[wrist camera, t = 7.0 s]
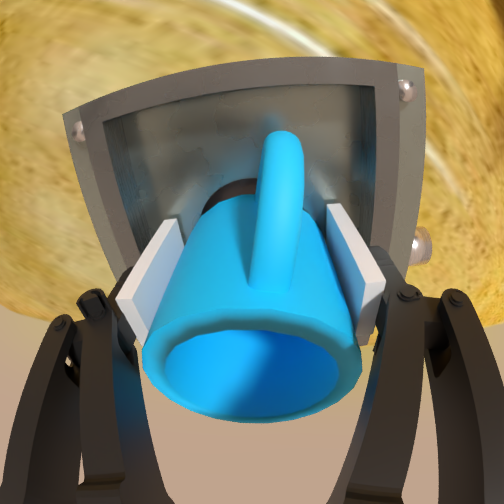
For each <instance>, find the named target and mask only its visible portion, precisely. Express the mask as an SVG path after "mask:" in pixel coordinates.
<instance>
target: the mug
mask: <svg viewBox="0 0 504 504" xmlns="http://www.w3.org/2000/svg"><path fill="white" fill-rule="evenodd" d="M303 198H304V154H303V150H302V146H301V143H300V141H299V139H298V138H297V137H296V135H294V134H292V133H291V132H287V131H275V132H272V133H270V134H269V135H268V136H267V137H266V138H265V140H264V143H263V148H262V153H261V159H260V165H259V172H258V178H257V185H256V192H255V194H243V195H239V196H236V197H233V198H230V199H227V200H224V201H221V202H219V203H218V204H216V205H215V206H214V207H212V208H211V209H210V210H208V211H207V212H206V213H205V214H203V215H202V216H201V218H200V219H199V221H198V222H197V224H196V225H195V227H194V229H193V230H192V232H191V234H190V236H189V238H188V240H187V242H186V245H185V247H184V249H183V251H182V253H181V256H180V258H179V260H178V262H177V265H176V267H175V269H174V271H173V274H172V276H171V278H170V281H169V283H168V285H167V288H166V290H165V292H164V295H163V297H162V300H161V302H160V305H159V307H158V309H157V312H156V314H155V317H154V319H153V322H152V325H151V327H150V330H149V332H148V335H147V338H146V340H145V343H144V345H143V348H142V363H143V369H144V371H145V373H146V374H147V376H148V378H149V379H150V381H151V383H152V384H153V385H154V386H155V387H156V388H157V389H158V390H159V391H160V392H162V393H163V394H164V395H165V396H166V397H167V398H169V399H170V400H172V401H174V402H175V403H177V404H179V405H181V406H183V407H185V408H187V409H189V410H190V411H194V412H196V413H199V414H202V415H205V416H208V417H212V418H215V419H220V420H226V421H232V422H239V423H273V422H281V421H289V420H294V419H298V418H301V417H305V416H308V415H311V414H314V413H317V412H319V411H321V410H323V409H325V408H327V407H329V406H331V405H333V404H335V403H337V402H338V401H339V400H341V399H342V398H343V397H344V396H345V395H346V394H347V393H349V392H350V391H351V390H352V389H353V388H354V386H355V384H356V382H357V381H358V379H359V377H360V375H361V373H362V359H361V351H360V347H359V344H358V340H357V337H356V333H355V330H354V326H353V323H352V320H351V316H350V313H349V310H348V307H347V303H346V300H345V297H344V294H343V291H342V288H341V285H340V282H339V279H338V276H337V273H336V270H335V267H334V264H333V262H332V259H331V256H330V253H329V250H328V248H327V245H326V242H325V239H324V237H323V234H322V231H321V230H320V229H319V227H318V226H317V224H316V223H315V221H314V220H313V219H312V217H311V216H310V214H308V213H307V212H305V211H304V210H303Z"/></svg>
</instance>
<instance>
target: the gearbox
mask: <svg viewBox="0 0 504 504" xmlns="http://www.w3.org/2000/svg"><path fill="white" fill-rule="evenodd" d="M62 115H63V120H64V125H65V130H66V134H67V139H68V143H69V147H70V151H71V155H72V159H73V163H74V167H75V170H76V174H77V177H78V181H79V184H80V187H81V191H82V194H83V197H84V200H85V203H86V206H87V209H88V212H89V215H90V217H91V220H92V223H93V226H94V228H95V231H96V234H97V236H98V239H99V241H100V244H101V246H102V249H103V251H104V254H105V256H106V258H107V261H108V263H109V265H110V268H111V270H112V272H113V274H114V277H115V279H116V281H118V280H119V278H120V277H121V275H122V273H123V272H124V271H126V270H127V269H128V268H129V267H132V266H135V265H136V263H137V261H138V260H139V258H140V257H141V255H142V253H143V252H144V250H145V249H146V247H147V245H148V244H149V242H150V241H151V239H152V238H153V236H154V235H155V233H156V232H157V230H158V229H159V227H160V226H161V224H162V223H163V221H164V220H169V219H176V218H177V221H178V225H179V229H180V233H181V237H182V240H183V244H184V247H185V245H186V242H187V240H188V238H189V236H190V234H191V232H192V230H193V229H194V227H195V225H196V224H197V222H198V221H199V219H200V218H201V216H202V215H203V214H205V213H206V212H207V211H208V210H210V209H211V208H212V207H214V206H215V205H216V204H218V203H219V202H221V201H224V200H227V199H230V198H233V197H236V196H239V195H243V194H255V192H256V185H257V178H258V172H259V165H260V159H261V153H262V148H263V143H264V140H265V138H266V137H267V136H268V135H269V134H270V133H272V132H275V131H287V132H291V133H292V134H294V135H296V137H297V138H298V139H299V141H300V143H301V146H302V150H303V154H304V198H303V210H304V211H305V212H307V213H308V214H310V216H311V217H312V219H313V220H314V221H315V223H316V224H317V226H318V227H319V229H320V230H321V231H322V234H323V237H324V239H325V242H326V220H327V204H338V203H340V204H341V205H342V207H343V208H344V210H345V211H346V213H347V215H348V216H349V218H350V219H351V221H352V223H353V224H354V226H355V227H356V229H357V231H358V232H359V234H360V236H361V237H362V239H363V241H364V242H365V244H366V246H367V247H368V246H380V247H381V248H383V249H384V250H385V251H387V253H388V254H389V256H390V258H391V260H392V261H393V262H394V264H395V265H396V267H397V269H398V270H399V272H400V273H401V275H402V277H403V278H404V280H405V277H406V273H407V269H408V266H415V265H423V264H427V263H428V262H429V260H430V257H431V253H432V242H431V238H430V235H429V233H428V231H427V229H426V228H424V227H416V225H417V219H418V213H419V206H420V198H421V190H422V181H423V171H424V158H425V138H426V97H425V79H424V68H419V67H414V66H409V65H403V64H397V63H391V62H384V61H376V60H367V59H356V58H340V57H284V58H268V59H257V60H247V61H239V62H232V63H225V64H219V65H213V66H207V67H202V68H197V69H192V70H188V71H183V72H179V73H175V74H171V75H167V76H163V77H160V78H156V79H152V80H149V81H146V82H142V83H139V84H136V85H133V86H130V87H127V88H124V89H121V90H119V91H116V92H113V93H110V94H108V95H105V96H103V97H100V98H98V99H95V100H93V101H90V102H88V103H86V104H84V105H81V106H79V107H77V108H75V109H73V110H70V111H68V112H66V113H64V114H62ZM375 325H376V324H375ZM369 337H370V335H363V336H357V340H358V344H359V346H363V345H367V344H368V341H369Z"/></svg>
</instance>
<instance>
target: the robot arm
mask: <svg viewBox="0 0 504 504" xmlns="http://www.w3.org/2000/svg"><path fill="white" fill-rule="evenodd" d="M326 245H327V248H328V250H329V253H330V256H331V259H332V262H333V264H334V267H335V270H336V273H337V276H338V279H339V282H340V285H341V288H342V291H343V294H344V297H345V300H346V303H347V307H348V310H349V313H350V316H351V320H352V323H353V326H354V330H355V333H356V337H357V336H363V335H370V334H373V331H374V328H375V324H376V327H377V330H378V332H379V333H378V336H377V339H376V343H375V346H374V349H373V351H374V356H373V361H372V366H371V371H370V375H369V380H368V384H367V388H366V392H365V397H364V401H363V404H362V408H361V412H360V415H359V419H358V422H357V426H356V429H355V432H354V435H353V438H352V442H351V445H350V448H349V451H348V453H347V456H346V459H345V462H344V464H343V467H342V470H341V473H340V475H339V477H338V480H337V483H336V485H335V487H334V490H333V492H332V494H331V496H330V498H329V500H328V502H327V503H326V504H404V503H403V501H402V498H401V496H402V489H403V486H404V482H405V479H406V475H407V471H408V467H409V463H410V459H411V454H412V450H413V445H414V440H415V435H416V429H417V423H418V417H419V409H420V401H421V392H422V380H423V365H424V358H425V362H426V367H427V372H428V378H429V383H430V389H431V395H432V401H433V408H434V416H435V424H436V433H437V446H438V464H439V498H438V500H439V501H438V504H504V386H503V382H502V379H501V376H500V372H499V370H498V366H497V363H496V360H495V358H494V355H493V352H492V349H491V347H490V344H489V342H488V339H487V337H486V334H485V332H484V329H483V327H482V325H481V322H480V320H479V318H478V316H477V313H476V311H475V309H474V307H473V305H472V303H471V301H470V299H469V297H468V296H467V295H466V294H465V293H464V292H462V291H460V290H458V289H452V288H451V289H446V290H445V291H444V292H443V294H442V296H441V298H432V297H425V296H423V295H422V293H421V292H420V290H419V289H418V288H416V287H414V286H413V285H409V284H407V283H406V282H405V280H404V278H403V277H402V275H401V273H400V272H399V270H398V269H397V267H396V265H395V264H394V262H393V261H392V260H391V258H390V256H389V254H388V253H387V251H385V250H384V249H383V248H381V247H380V246H368V247H367V246H366V244H365V242H364V241H363V239H362V237H361V236H360V234H359V232H358V231H357V229H356V227H355V226H354V224H353V223H352V221H351V219H350V218H349V216H348V215H347V213H346V211H345V210H344V208H343V207H342V205H341V204H340V203H338V204H327V220H326ZM183 249H184V244H183V240H182V237H181V233H180V229H179V225H178V221H177V218H176V219H169V220H164V221H163V223H162V224H161V226H160V227H159V229H158V230H157V232H156V233H155V235H154V236H153V238H152V239H151V241H150V242H149V244H148V245H147V247H146V249H145V250H144V252H143V253H142V255H141V257H140V258H139V260H138V261H137V263H136V265H135V266H132V267H129V268H128V269H127V270H126V271H124V272H123V273H122V275H121V277H120V278H119V280H118V281H117V283H116V285H115V287H114V288H113V290H112V291H111V293H110V295H109V296H108V298H107V297H106V296H105V294H104V292H103V291H102V290H101V289H97V288H96V289H91V290H89V291H87V292H85V293H84V294H82V295H81V296H80V297H79V299H78V300H77V303H76V304H77V306H78V307H79V309H80V311H81V312H82V314H83V316H84V317H85V319H84V320H80V321H76V322H74V321H73V319H72V318H71V316H69V315H67V314H63V315H60V316H58V317H56V318H55V319H54V320H53V321H52V322H51V324H50V326H49V328H48V330H47V332H46V334H45V336H44V338H43V341H42V343H41V345H40V348H39V350H38V353H37V355H36V357H35V360H34V362H33V365H32V367H31V370H30V373H29V375H28V379H27V381H26V384H25V387H24V389H23V392H22V396H21V399H20V402H19V405H18V408H17V412H16V415H15V419H14V423H13V427H12V431H11V435H10V440H9V444H8V449H7V454H6V460H5V466H4V473H3V482H2V484H1V487H0V504H175V503H174V502H173V500H172V499H171V498H170V497H169V496H168V494H167V492H166V490H165V487H164V484H163V481H162V477H161V473H160V470H159V466H158V463H157V459H156V455H155V451H154V447H153V443H152V438H151V434H150V429H149V425H148V420H147V415H146V410H145V404H144V399H143V392H142V386H141V379H140V372H139V364H138V356H137V350H136V348H135V346H134V345H133V344H134V342H135V339H136V338H137V340H138V341H139V343H140V345H141V346H143V345H144V343H145V340H146V338H147V335H148V332H149V330H150V327H151V325H152V322H153V319H154V317H155V314H156V312H157V309H158V307H159V305H160V302H161V300H162V297H163V295H164V292H165V290H166V288H167V285H168V283H169V281H170V278H171V276H172V274H173V271H174V269H175V267H176V265H177V262H178V260H179V258H180V256H181V253H182V251H183ZM67 357H68V358H69V360H70V361H71V364H70V366H68V365H67V364H66V363H65V361H66V358H67ZM81 452H82V458H83V468H84V476H85V478H84V482H83V483H81V484H80V485H78V481H79V469H80V460H81Z"/></svg>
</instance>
